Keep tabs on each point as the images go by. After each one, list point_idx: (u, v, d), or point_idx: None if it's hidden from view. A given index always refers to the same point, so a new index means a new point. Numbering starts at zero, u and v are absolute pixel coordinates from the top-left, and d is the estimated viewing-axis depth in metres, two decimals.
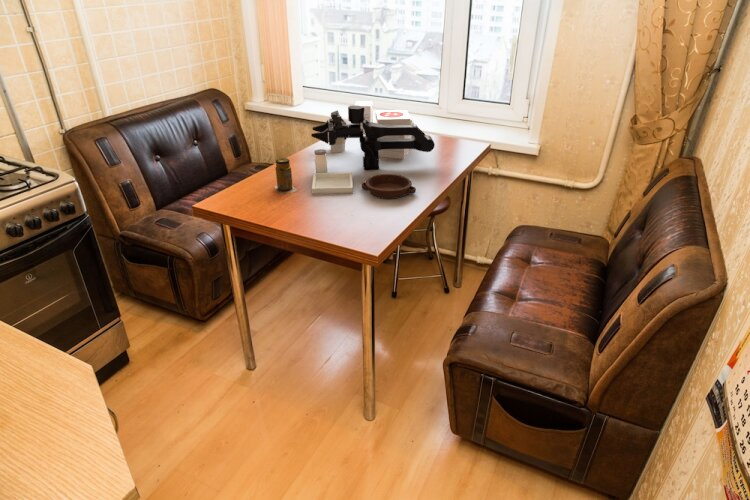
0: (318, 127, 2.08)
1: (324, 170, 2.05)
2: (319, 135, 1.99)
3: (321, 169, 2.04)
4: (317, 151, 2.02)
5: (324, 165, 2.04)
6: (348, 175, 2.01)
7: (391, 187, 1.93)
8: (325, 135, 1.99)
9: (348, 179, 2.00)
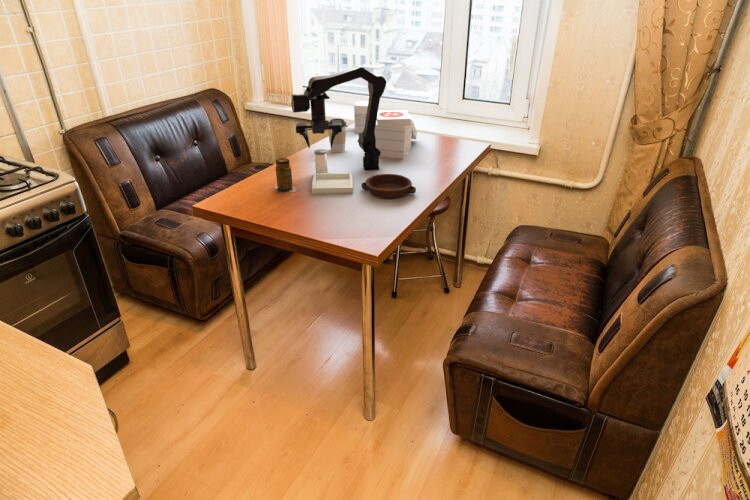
0: (308, 142, 2.00)
1: (324, 170, 2.05)
2: (333, 139, 2.00)
3: (321, 169, 2.04)
4: (317, 151, 2.02)
5: (324, 165, 2.04)
6: (348, 175, 2.01)
7: (391, 187, 1.93)
8: None
9: (348, 179, 2.00)
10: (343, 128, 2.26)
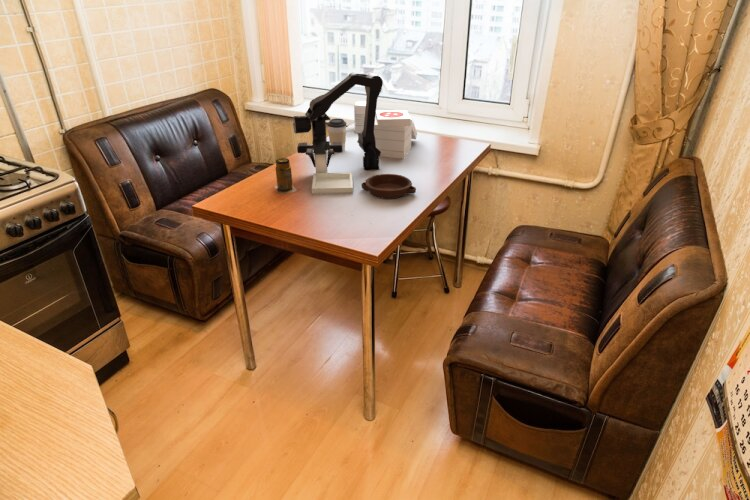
0: (314, 161, 2.04)
1: (324, 170, 2.05)
2: (329, 159, 2.04)
3: (321, 169, 2.04)
4: None
5: (324, 165, 2.04)
6: (348, 175, 2.01)
7: (391, 187, 1.93)
8: None
9: (348, 179, 2.00)
10: (343, 128, 2.26)
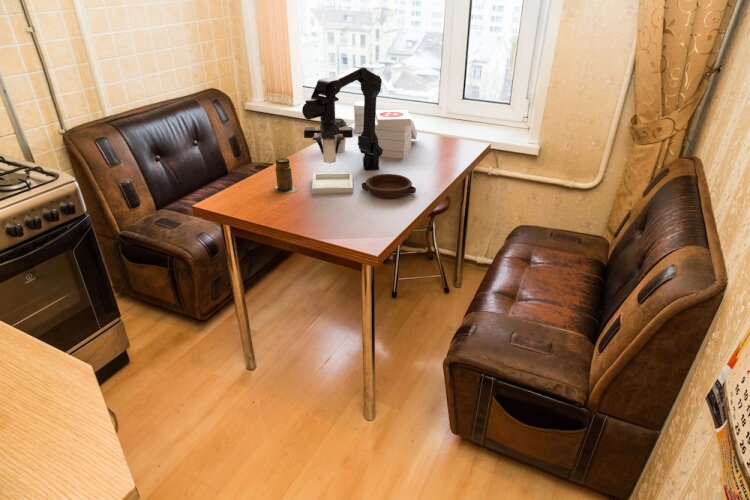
0: (322, 147, 1.89)
1: (332, 157, 1.89)
2: (338, 145, 1.89)
3: (329, 156, 1.89)
4: None
5: (333, 151, 1.88)
6: (348, 175, 2.01)
7: (391, 187, 1.93)
8: None
9: (348, 179, 2.00)
10: None
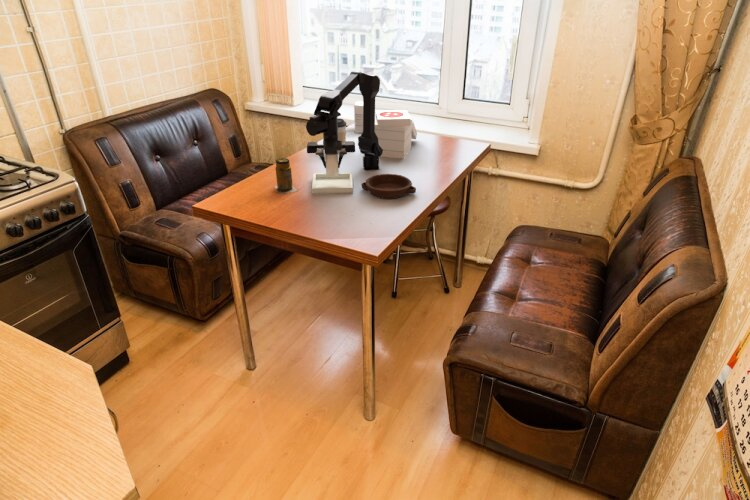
0: (325, 162, 1.90)
1: (335, 171, 1.91)
2: None
3: (332, 170, 1.90)
4: None
5: (335, 166, 1.90)
6: (348, 175, 2.01)
7: (391, 187, 1.93)
8: None
9: (348, 179, 2.00)
10: (343, 128, 2.26)
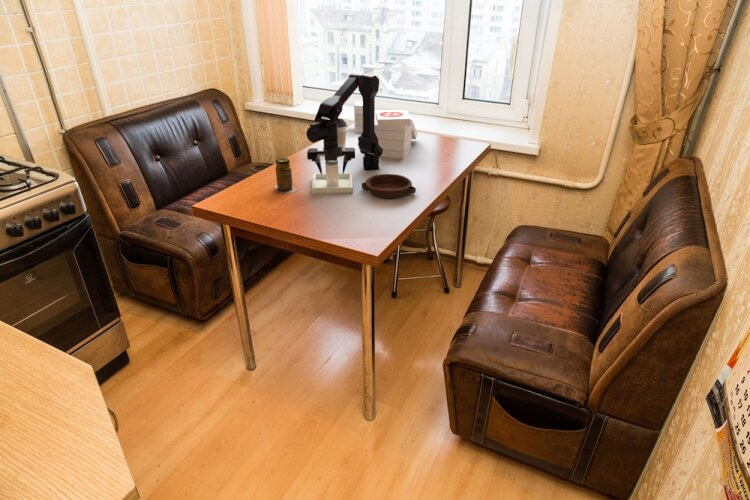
0: (321, 168, 1.91)
1: (335, 181, 1.93)
2: (345, 165, 1.92)
3: (332, 180, 1.92)
4: (328, 161, 1.90)
5: (335, 176, 1.92)
6: (348, 175, 2.01)
7: (391, 187, 1.93)
8: None
9: (348, 179, 2.00)
10: (343, 128, 2.26)
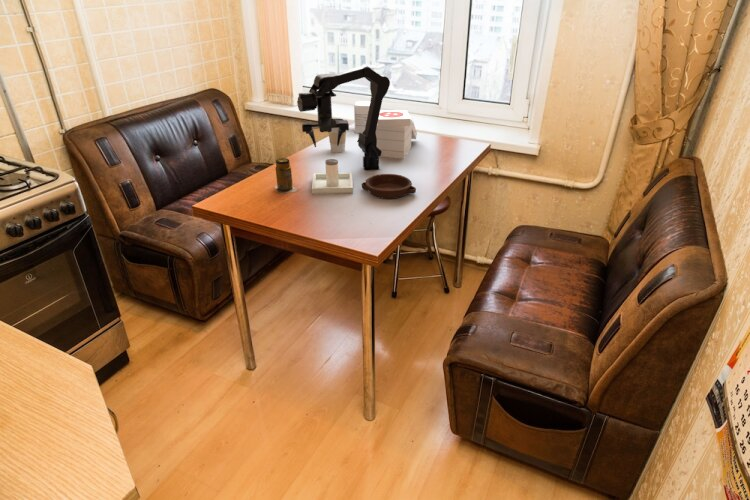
0: (315, 141, 1.97)
1: (335, 181, 1.93)
2: None
3: (332, 180, 1.92)
4: (328, 161, 1.90)
5: (336, 176, 1.92)
6: (348, 175, 2.01)
7: (391, 187, 1.93)
8: None
9: (348, 179, 2.00)
10: None
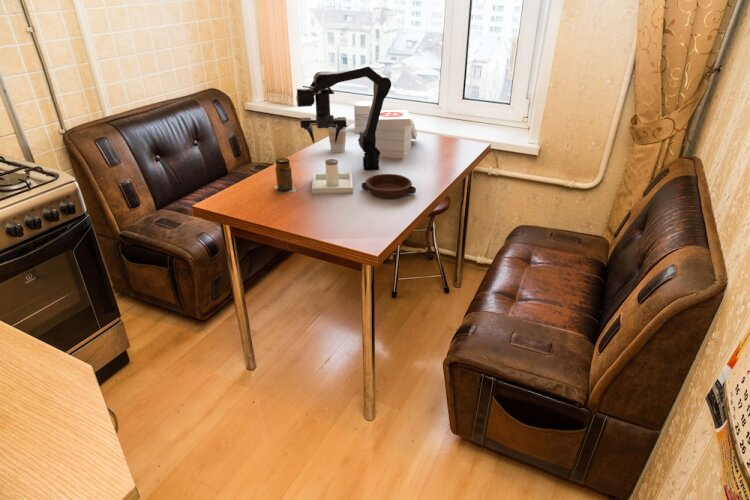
0: (313, 137, 2.01)
1: (335, 181, 1.93)
2: None
3: (332, 180, 1.92)
4: (328, 161, 1.90)
5: (335, 176, 1.92)
6: (348, 175, 2.01)
7: (391, 187, 1.93)
8: None
9: (348, 179, 2.00)
10: (343, 128, 2.26)
